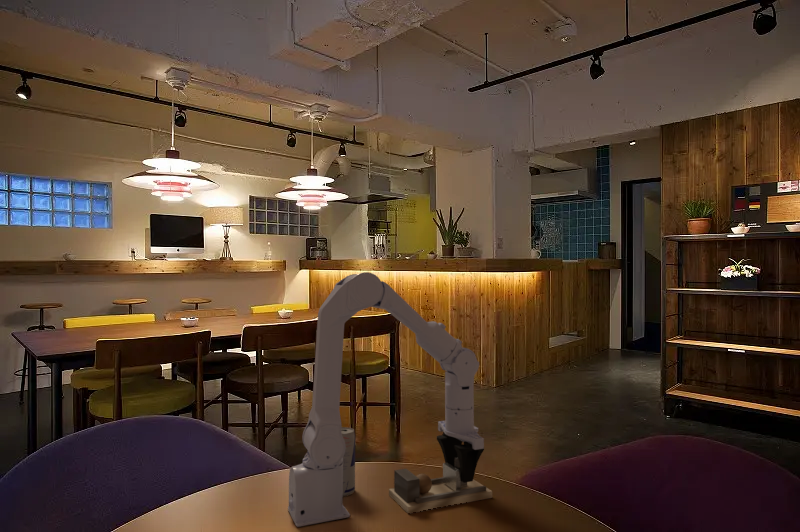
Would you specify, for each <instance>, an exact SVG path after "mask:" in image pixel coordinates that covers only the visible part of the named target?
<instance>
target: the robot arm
mask: <svg viewBox="0 0 800 532" xmlns="http://www.w3.org/2000/svg"><path fill="white" fill-rule="evenodd" d="M368 308H375V309H379V310H380V309H381V310H385V311H386V312H388V313H389V314H390V315H391V316H393V317H394V318H395V319H396V320H397V321H399V322H400V323H401V324H403V325H404V326H405V327H406V328H408V330H410V331H412V333H414V334H415V341H416V344H417V345H418V346H419V347H420V348H421V349H423V350H424V352H426V353H428V354H429V355H430V356H431V357H432V358H433V359H434V360H435V361H436V362H438V364H439V366H440V368H441V369H442V370H443V371H444V379H445V380H444V391H445V392H444V408H445V410H444V415H445V417H444V418H445V420H441V421H437V423H438V424H437V430H438V431H439V432H441V433H442V434H441V435H437V436H436V441H437V442H438V444H439V447H440V449H441V451H442V454H443V459H444V463H449V464H451V465H452V466H454V457H455V456H458V458H459V463H460V473H461V479H462V482H464V483H465V482H471V481H473V479H474V477H475V473H476V469H477V465H478V463H479V460H480V458H481V456H482V454H483V452H484V451H485V438H484V437H482V436H480V435H481V434H479V433H478V432H479V427H477V426H476V425H475V417H474V416H475V415H474V413H475V406H474V405H475V401H474V398H475V397H474V396H475V395H474V393H475V392H474V391H475V389H474V386H475V385H474V383H475V375H476V373H478V371H479V367H480V361H478V359H477V357H476V354H475V352H474V351H473V350H471V349H470V348H468V347H463V345H462V343H463V341H462V340H460V339H459V338H455V336H452V335H451V334H450V333H449V332H448V331H447V330H446V325H445V324H444V323H443V322H437V321H433V320H432V321H426V320H425V318H423V317H422V316H421V314H419V313H418V311H416V310H415V309H414V308H413V307H412V306H411V305H410V304H409V303H408V302H407V301H406V300H404V299H403V298H402V296H401V295H400V294H399V293H397V292H396V290H394V289H393V287H391V286H390V285H389V284H388V283H387V282H385V281H384V280H382V281H381V279H380V278H379V277H378V276H377V275H376V274H374V273H372V272H369V271H366V272H361V273H356V274H355V273H353V274H349V275H347V276H345V277H344V278H342V279H341V280H340V281H338V282H336V283H335V285H334V287H333V289H332V291H331V292H330V293H329V294H328V296H327V297H326V299H325V300H324V302H323V303H322V305H321V306H320V307H319V309H318V311H317V323H316V324H317V325H316V338H315V339H316V340H315V341H316V342H315V353H314V354H315V355H314V358H315V359H314V371H313V372H314V373H313V388H312V403H311V409H310V411H309V413H308V419H307V424H306V425H305V428H304V429H303V432H302V443H303V446H304V448H305V449H307V452H306V453H305V454H304V457H303V458H302V463H299V464H297V465H293V466H291V467H290V468H289V474H288V506H287V511H288V512H289V515H290V517H291V519H292V521H293V522H294V525H295V526H296V527H297V528H300V527H304V526H309V525H315V524H320V523H325V522H331V521H335V520H336V521H337V520H342V519H347V518H350V517H351V513H350V512H349V511H348V510H347V509H346V507H345V506H344V503H343V501H344V500H343V499H344V496H343V456H344V454H345V449H346V445H345V441H344V439H343V436H342V433H341V427H343V425H342V419H341V418H342V417H341V413H340V407H341V406H340V404H341V390H342V389H341V387H342V384H341V383H342V370H343V352H344V338H345V337H344V336H345V335H344V334H345V324H346V322H347V321H349V320H350V319H351V318H352V317H354V316H355V315H357V313H358V312H361V311H363V310H365V309H368Z"/></svg>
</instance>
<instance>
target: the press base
mask: <svg viewBox="0 0 800 532" xmlns="http://www.w3.org/2000/svg"><path fill="white" fill-rule="evenodd" d="M393 473H394V478H393V480H394V482H393V484H394V485H393V486H394V487H393V488H389V489H388V496H389V497H390V498H391V499H392V500H393V499H394V500H395V501H396V502H397V503H396V502H395V501H394V500H393V501H394V502H395V503H396V504H397V505H398V506H399V505H400V506H401V507H400V508H401V509H402V510H403V511H405V513H406V514H408V513H410V514H414V513H413V512H416V513H420V511H421V512H424V511H423V510H426V511H429V510H428V509H431V510H434V509H433V508H436V509H438V508H437V507H441V508H444V507H443V506H446V507H449V506H448V505H451V506H455V505H454V504H457V505H460V503H462V504H466V502H467V503H472V502H476V501H480V500H487V499H491V498H493V490H491V489H490V488H488V487H487V486H486V485H483V484H481V483H480V482H479V481H477V480H475V479H474V478H473V481H471V482H467V487H465V488H461V490H457V491H454V490H453V489H452V488H450V487H449V486H447V485H446V484H445V483H443V476H442V477H436V478H430V479H431V481H432V487H431V489H430V491H429V492H428V493H426V494H420V493H419V478H418V477H416V476H417V475H415V474H414V473H413V472H412V471H410V470H409V469H408V468H401V469H395V470H394V472H393Z"/></svg>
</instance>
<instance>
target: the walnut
mask: <svg viewBox="0 0 800 532" xmlns="http://www.w3.org/2000/svg"><path fill="white" fill-rule="evenodd" d="M415 476H416V477H418V478H419V493H420V494H426V493H428V492H429V491H430V489H431V487H432V481H431V479H432V478H431V477H430V476H429V475H428V474H426V473H418V474H416V475H415Z"/></svg>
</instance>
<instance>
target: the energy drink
mask: <svg viewBox="0 0 800 532" xmlns="http://www.w3.org/2000/svg"><path fill="white" fill-rule="evenodd" d="M341 433H342V436H343V439H344V441H345V445H346V449H345V454H344V456H343V497H348V496H350V495H352V494H353V493H354V492H355V489H356V433H355V429H354V428H352V427H345V426H344V427H343V426H341ZM347 495H348V496H347Z"/></svg>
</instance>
